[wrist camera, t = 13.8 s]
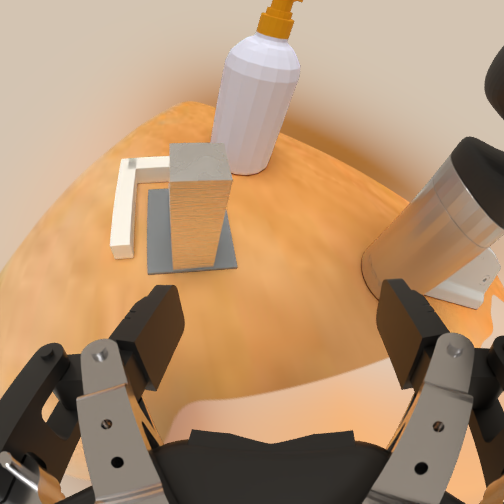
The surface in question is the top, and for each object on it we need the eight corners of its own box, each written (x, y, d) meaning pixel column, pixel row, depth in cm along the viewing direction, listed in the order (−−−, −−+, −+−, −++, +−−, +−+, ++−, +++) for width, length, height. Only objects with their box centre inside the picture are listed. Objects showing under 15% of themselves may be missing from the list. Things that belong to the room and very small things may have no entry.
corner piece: (199, 169, 34) (201, 155, 32) (210, 252, 28) (212, 239, 26) (123, 173, 31) (121, 159, 29) (115, 259, 26) (109, 246, 23)
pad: (221, 188, 33) (222, 187, 33) (236, 268, 28) (237, 266, 28) (148, 191, 31) (148, 189, 31) (148, 274, 26) (147, 273, 25)
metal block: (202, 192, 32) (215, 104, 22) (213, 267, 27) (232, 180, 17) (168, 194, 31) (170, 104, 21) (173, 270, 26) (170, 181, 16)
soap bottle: (279, 153, 40) (336, 9, 20) (250, 186, 35) (312, 3, 15) (232, 129, 41) (269, -11, 21) (196, 157, 35) (226, -17, 16)
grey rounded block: (415, 292, 32) (457, 233, 26) (405, 269, 35) (441, 213, 30) (478, 309, 33) (513, 265, 27) (467, 290, 37) (499, 247, 31)
